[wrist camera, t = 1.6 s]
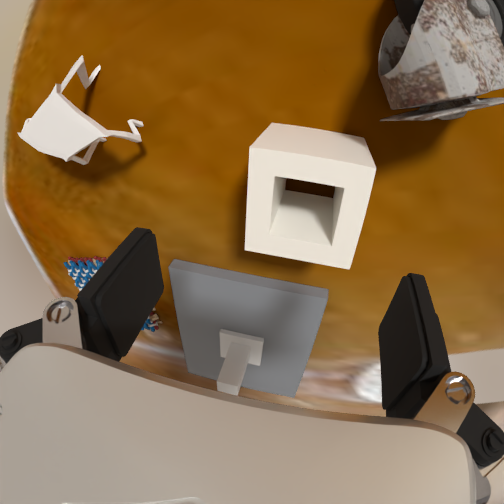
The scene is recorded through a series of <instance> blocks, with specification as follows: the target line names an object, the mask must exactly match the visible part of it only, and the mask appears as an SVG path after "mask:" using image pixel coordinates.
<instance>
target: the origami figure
mask: <svg viewBox="0 0 504 504" xmlns="http://www.w3.org/2000/svg"><path fill="white" fill-rule="evenodd" d="M100 69H101V67H100V65H99V66H98V67H97V68H96V69H95V70H94V71H93V72H92V74H91V76H90V77H89V79H88V75H87V71H86V67H85V63H84V59H83V55H82V56H81V57H80V58H79V59H78V60H77V62H76V63H75V64H74V65H73V67H72V68H71V70H70V72H69V73H68V75H67V76H66V78H65V79H64V81H63V82H62V84H56V85H55V87H54V89H53V91H52V92H51V94H50V96H49V97H48V98H47V99H46V100H45V102H44V103H43V104H42V105H41V107H40V108H39V109H38V110H37V112H36V113H35V114H34V116H33V117H32V118H28V119H27V120H26V121H25V124H24V127H23V129H22V132H21V133H18V135H19V136H20V138H22V139H23V140H24V141H26V142H27V143H28V144H30V145H31V146H32V147H34V148H35V149H37V150H38V151H40V152H43V153H46V154H49V155H52V156H55V157H59V158H62V159H64V160H65V161H66V162H67V161H70V160H73V161H76V162H78V163H80V164H83V165H85V164H87V163H89V160H90V158H91V156H92V154H93V152H94V150H95V148H96V146H97V144H98V142H99V141H102V142H105V141H107V140H106V139H105V138H102V137H108V136H114V137H120V138H124V139H127V140H131V141H134V142H142V141H141V136H140V134H139V132H138V130H137V128H136V127H135V126H138V127H142V126H143V122H141V121H137V120H133V119H130V120H128V124H129V126H130V128H131V130H132V132H133V133H128V132H123V131H113V130H106V129H105V128H104V127H102V126H101V125H100V124H98V123H97V122H96V121H94V120H93V119H91V118H90V117H88V116H87V115H86V114H84V113H83V112H81V111H80V110H79V109H78V108H77V107H76V106H74V105H73V104H72V103H71V102H70V101H69V100H68V99H66V98H65V97H64V96H63V95H62V94H61V93H62V91H63V90H64V88H65V86H66V85H67V84H68V82H69V81H70V79H71V78H72V76H73V75H74V73H75V72H77V74H78V76H79V78H80V80H81V82H82V84H83V85H84V87H85V89H86V88H87V87H88V86H89V85H90V84H91V83H92V81H93V80H94V78H95V76H96V75H97V73H98V72H99V70H100ZM89 145H91V146H90V147H89V149H88V151H87V152H86V154H85V156H84V158H83V159H82V158H80V157H78V156H76V155H75V154H77V153H78V152H80V151H81V150H83V149H85V148H86V147H88V146H89Z"/></svg>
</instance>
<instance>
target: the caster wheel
mask: <svg viewBox="0 0 504 504" xmlns="http://www.w3.org/2000/svg"><path fill="white" fill-rule="evenodd" d="M394 1H395V5H396V9H397V12H398V16H397V17H395V18H394V19H393V21H392V22H391V24H390V25H389V26H388V28H387V30H386V31H385V34H384V36H383V38H382V42H381V45H380V50H379V59H378V73H379V78H380V80H381V83H382V85H383V88H384V91H385V93H386V96H387V99H388V102H389V105H390V107H391V109H405V108H417V107H420V109H418V110H414V111H410V112H406V113H402V114H398V115H394V116H390V117H386V118H383V119H381V120H380V121H404V120H431V119H435V118H439V119H441V120H450V119H456V118H460V117H463V116H464V115H465V114H466V113H467V111H470V110H474V109H479V108H484V107H489V106H494V105H499V104H504V98H478V99H477V98H476V96H478V95H481V94H484V93H487V92H489V91H493V90H498V89H502V88H504V0H394Z"/></svg>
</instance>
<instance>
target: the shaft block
mask: <svg viewBox="0 0 504 504" xmlns="http://www.w3.org/2000/svg"><path fill="white" fill-rule="evenodd" d="M169 273H170V279H171V286H172V292H173V297H174V303H175V309H176V314H177V320H178V325H179V330H180V335H181V340H182V345H183V350H184V355H185V359H186V364H187V368H188V373H192V374H195V375H199V376H202V377H206V378H209V379H213V380H217V389H218V391H221V392H224V393H228V394H232V395H236V396H238V393H239V390H240V387H245V388H249V389H254V390H258V391H263V392H268V393H272V394H277V395H282V396H288V397H293V398H294V397H295V394H296V392H297V389H298V386H299V384H300V381H301V378H302V375H303V373H304V370H305V367H306V364H307V361H308V358H309V356H310V353H311V350H312V347H313V344H314V341H315V338H316V335H317V332H318V329H319V326H320V323H321V319H322V316H323V313H324V310H325V307H326V303H327V300H328V290H329V289H324V288H319V287H313V286H308V285H302V284H297V283H292V282H287V281H281V280H276V279H271V278H266V277H261V276H255V275H250V274H245V273H240V272H235V271H230V270H225V269H220V268H215V267H210V266H206V265H201V264H196V263H191V262H186V261H181V260H177V259H174V260H173V261H172V263H171V264H170V266H169Z"/></svg>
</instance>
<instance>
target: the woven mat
mask: <svg viewBox="0 0 504 504" xmlns="http://www.w3.org/2000/svg"><path fill="white" fill-rule="evenodd" d="M108 258H109V257H108ZM108 258H106V257H103V258H101V257H99V258H98V257H97V256H94V258H87V257H85V258H84V259H83V258H80V259H79V258H76V259H74V258H72V257H68V259H69V260H68V263H67V262H64V265H65V267H67V268H68V271H69V272H70V273H69V275H70V276H72V278H73V279H74V280H75V285H76V286H77V287H78V289H79V290H80V291H81V290H82V289H83V287H84V286H85V285H86V284H87V282H88V281H89V280H90V279H91V278H92V276H93V275H94V274H95V273H96V272H97V271H98V269H99V268H100V267H101V266H102V265H103V264H104V262H105V261H106V260H107V259H108ZM68 264H69V265H70V266H69V265H68ZM78 265H79V266H78ZM152 311H155V308H153V310H152ZM157 319H159V318H158V316H157V314H154V313H153V312H151V313H150V315H149V317H148V319H147V320H146V322H145V324H144V326H143V327H142V329H141V330H144V328H146V329H148V330H150V328H151V331H153V332H154V331H155V329H156V330H158V323H162V321H158V320H157ZM148 325H149V326H150V327H148ZM154 327H155V329H154Z"/></svg>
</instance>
